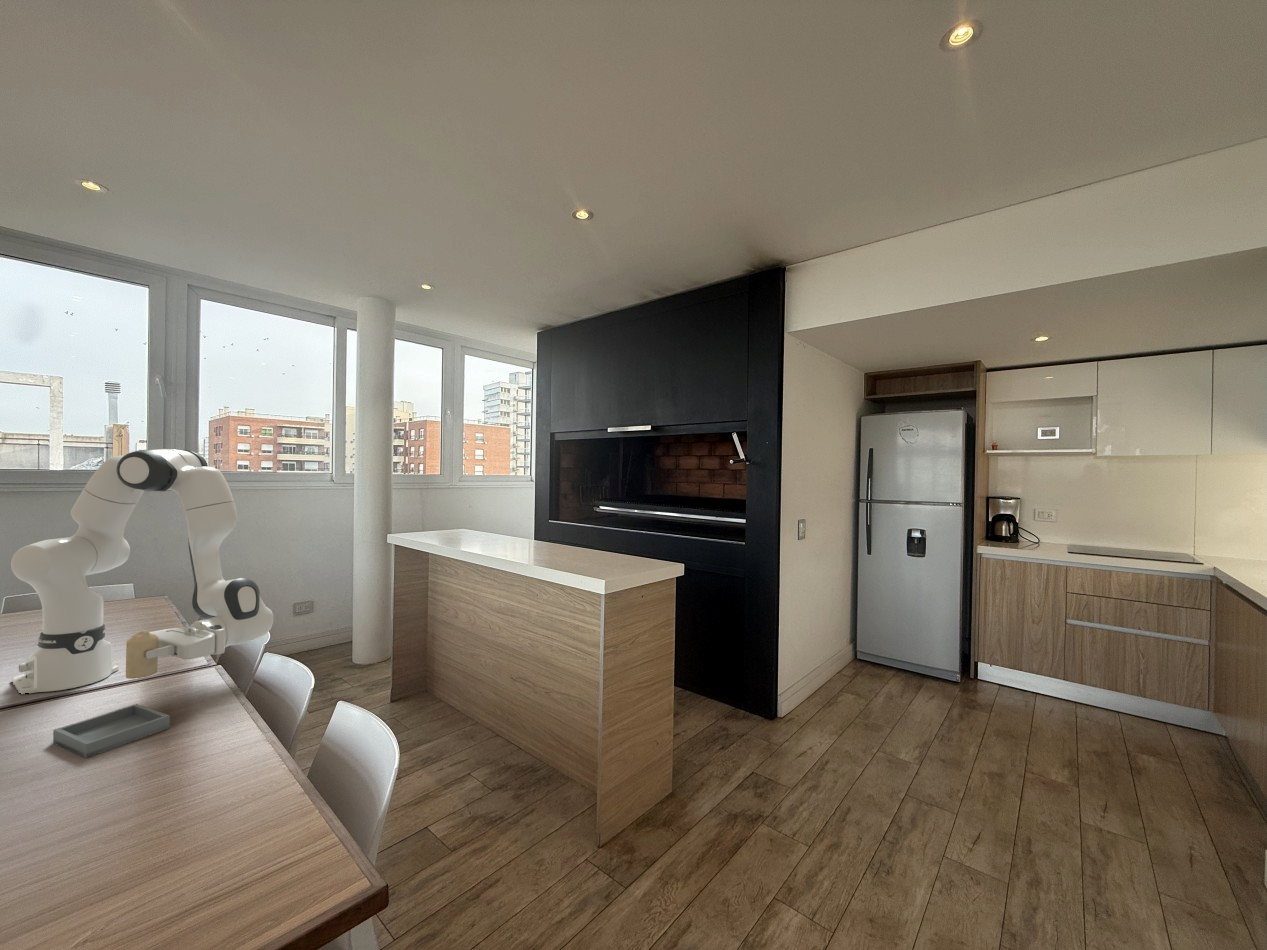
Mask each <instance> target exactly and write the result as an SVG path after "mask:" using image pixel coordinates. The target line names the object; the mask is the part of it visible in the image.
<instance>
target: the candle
mask: <svg viewBox="0 0 1267 950" xmlns="http://www.w3.org/2000/svg"><path fill="white" fill-rule="evenodd" d="M149 632H150V631H149ZM149 632H147V631H140V632H136V633H134V634H133V635H132V636H131V637H129V638H128V639H127V640H126V642H125V643H126V644H125V645H126V650H125V652H126V653H125V655H126V656H125V658H126V659H125V678H126V679H143V678H146V677H149V676H152V675H154V674H157V672H158V660H159V659H158V657H154V658H150V659H148V658H145V657H144V652H145V651H146V650H150V649H158V636H157V635H155V634H152V633H149Z"/></svg>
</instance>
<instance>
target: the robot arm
mask: <svg viewBox="0 0 1267 950" xmlns="http://www.w3.org/2000/svg"><path fill="white" fill-rule="evenodd" d="M168 490H169V491H171V492H174V493H175V494H177V496H178V497H179V499H180V502H181V505H182V509H183V514H184V518H185V521H186V526H187V534H188V536H187V537H188V553H189V559H190V564H191V570H192V577H193V583H194V585H193V586H194V588H193V594H192V599H191V600H192V601H191V605H192V609H193V610H194V612H195V614H197V615H198V616H199V617H201V618H203V619H200V620H196V621H193V622H192V623H191V624H190V625H189V627H187V628H185V629H184V628H179V627H171V628H164V629H160V630H154V631H149V633H152V634H155V635H157V636H158V649H150V650H146V651H145V652H144V657H145V658H148V659H150V658H154V657H159V658H160V657H161V658H162V657H169V656H170V657H175V658H177V659H181V660H193V659H194V660H195V659H198V658H202V657H207V656H210V655H211V656H212V655H215V656H217V655H220V654H224V653H225V652H226V651H225V650H226V648H227V647H229V646H239V645H242V644H244V643H249V642H252V641H255V640H257V639H260V638H262V637H263V636H265V635H267V634H268V633H269V632H270V631H271V629H272V627H273V624H274V612H273V611H272V609H270V608H269V607H267V605H266V604H265V603H264V601H263V599H262V598H261V594H260V588H259V585H257V584H256V582H255V581H254V580H252V579H250V578H245V577H240V578H234V579H228V580H226V579H225V578H224V577H223V571H222V565H221V558H220V547H221V545H222V543H223V541H224V540H225V539H226V538H227V537H228V536H229V535H230V534H231V533H232V532H233V531H234V529H235V528H236V526H237V524H238V511H237V506H236V503H235V500H234V496H233V494H232V491H231V489H230V487H229V483H228V482H227V479H226V477H225V476H224V474H223V472H222V471H220V469H217V468H214V467H213V466H208V462H207V460H206V459H205V458H204V457H203V456H202V455H201V454H199V453H197V452H196V451H192V450H187V449H174V448H173V449H172V448H160V449H139V450H134V451H131V452H129V453H127V454H125V455H113V456H111V457H108V458H107V459H106V460H105V461H104V462H102V464H101V465H100V466H99V467H98V468H97V469H96V470H95V472H94V473H93V474H92V475H91V476H90V478H89V480H88V481H87V483H86V484H85V486H84V488H83V489H82V491H81V493H80V495H79V496H78V498H77V500H76V501H75V502H74V504H73V506H72V508H71V510H70V516H71V518H72V520H73V521H74V522H75V523H77V524H78V529H77V531H76V533H74V534H73V535H72V536H70V537H69V536H68V537H60V538H52V539H51V538H50V539H43V540H41V541H37V542H34V543H31V544H27V545H25V546H23V547H22V546H21V547H20V548H18V550H16V551H15V552H14V554H13V556H12V558H11V560H10V568H11V571H12V573H13V574H14V576H15V577H16V578H17V579H18V580H20V581H22V582H24V583H25V584H26V583H27V584H28V585H29V586H31V587H32V588H33V589H34V590H35V592H36V595H38V598H39V600H40V603H41V608H42V609H41V611H42V613H41V614H42V615H41V616H42V631H41V632H40V633H39V637H38V639H37V640H38V641H37V646H38V647H37V648H36V649H35V650H34V651H33V652H32V653H31V654H30V655H29V656H28V657H26V658H25V662H21V663H19V664H18V672H19V673H22V674H19V675H15V676H14V677H12V679H11V682H13V683H12V684H13V686H14V685H15V686H14V687H15V689H16V690H18V691H17V692H18V694H19V693H21V694H20V695H26V694H25V693H29V694H34V693H42V692H43V693H46V692H55V691H56V692H57V691H62V690H63V691H64V690H68V689H74V688H78V687H83V686H87V685H89V684H90V685H91V684H94V683H97V682H99V681H102V680H104V679H106V678H108V677H109V676H110V675H111V674H112V673H114V672H117V671H119V669H120V668H119V665H117V664H116V665H115V664H113V654H112V653H113V652H112V644H111V642H109V641H107V640H105V638H106V625H105V624H104V597H103V596H102V595H101V593H98V592H96V591H94V590H92V589H91V588H90V587H89V586H88V584H87V583H88V582H87V579H86V576H91V575H96V574H101V573H105V572H108V571H111V570H113V569H115V568H118V567H120V566H122V565H124V564H126V562H127V561H128V559H129V558H130V555H131V546H130V544H129V542H128V541H127V540H126V538H125V537H124V533H125V529H126V525H127V523H128V520H129V519H130V517H131V516H132V513H133V512H134V510H135V508H136V506H137V505H138V503H139V501H140V499H141V497H142V496H143V495H144V493H145V491H147V492H149V491H150V492H153V491H154V492H166V491H168Z"/></svg>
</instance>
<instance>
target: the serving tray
mask: <svg viewBox="0 0 1267 950" xmlns="http://www.w3.org/2000/svg"><path fill="white" fill-rule="evenodd" d="M170 718H171V716H170V715H169V714H167V713H164V712H160V711H158V710H155V709H151V708H149V707H146V706H144V705H140V704H138V703H135V704H131V705H129V706H125V707H121V708H119V709H115V710H113V711H112V710H111V711H110V712H106V713H103V714H100V715H96V716H92V717H91V718H86V719H84V720H80V721H77V722H74V723H72V724H68V725H65V726H61V727H58V728H55V729H53V731H52V733H53V735H52V736H53V740H52V743H53V744H54V745H56V746H58V747H61V748H63V749H65V750H68V751H70V752H72V753H73V754H76V755H78V756H80V757H82V758H85V759H88V758H91V757H93V756H96V755H99V754H102V753H104V752H108V751H110V750H112V749H115V748H118V747H121V746H124V745H127V744H129V743H133V742H135V741H138V740H141V739H143V738H142V737H144V738H146V737H148V736H147V735H149V736H151V735H150V734H152V735H154V733H155V734H157V733H159V732H163V731H165V729H166V730H168V729H170V722H171V721H170V720H171V719H170ZM145 736H146V737H145ZM140 738H141V739H140ZM137 739H138V740H137ZM134 740H135V741H134ZM132 741H133V742H132Z"/></svg>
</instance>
